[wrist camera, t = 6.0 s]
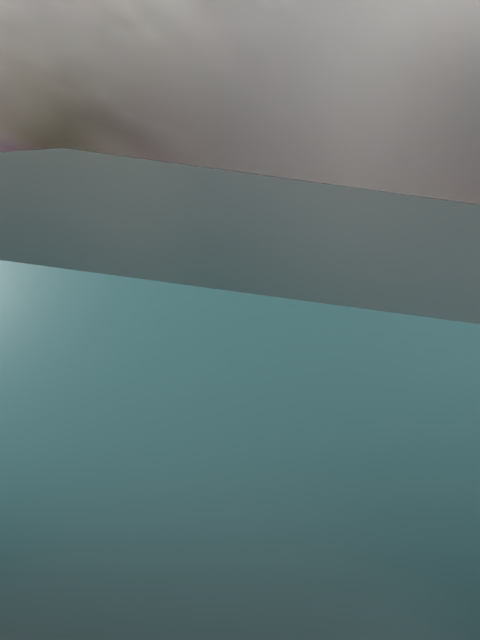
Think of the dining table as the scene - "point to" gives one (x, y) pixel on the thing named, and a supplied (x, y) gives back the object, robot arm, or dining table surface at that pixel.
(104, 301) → the teal cube
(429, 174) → the dining table surface
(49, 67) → the dining table surface
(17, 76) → the dining table surface
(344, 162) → the dining table surface
